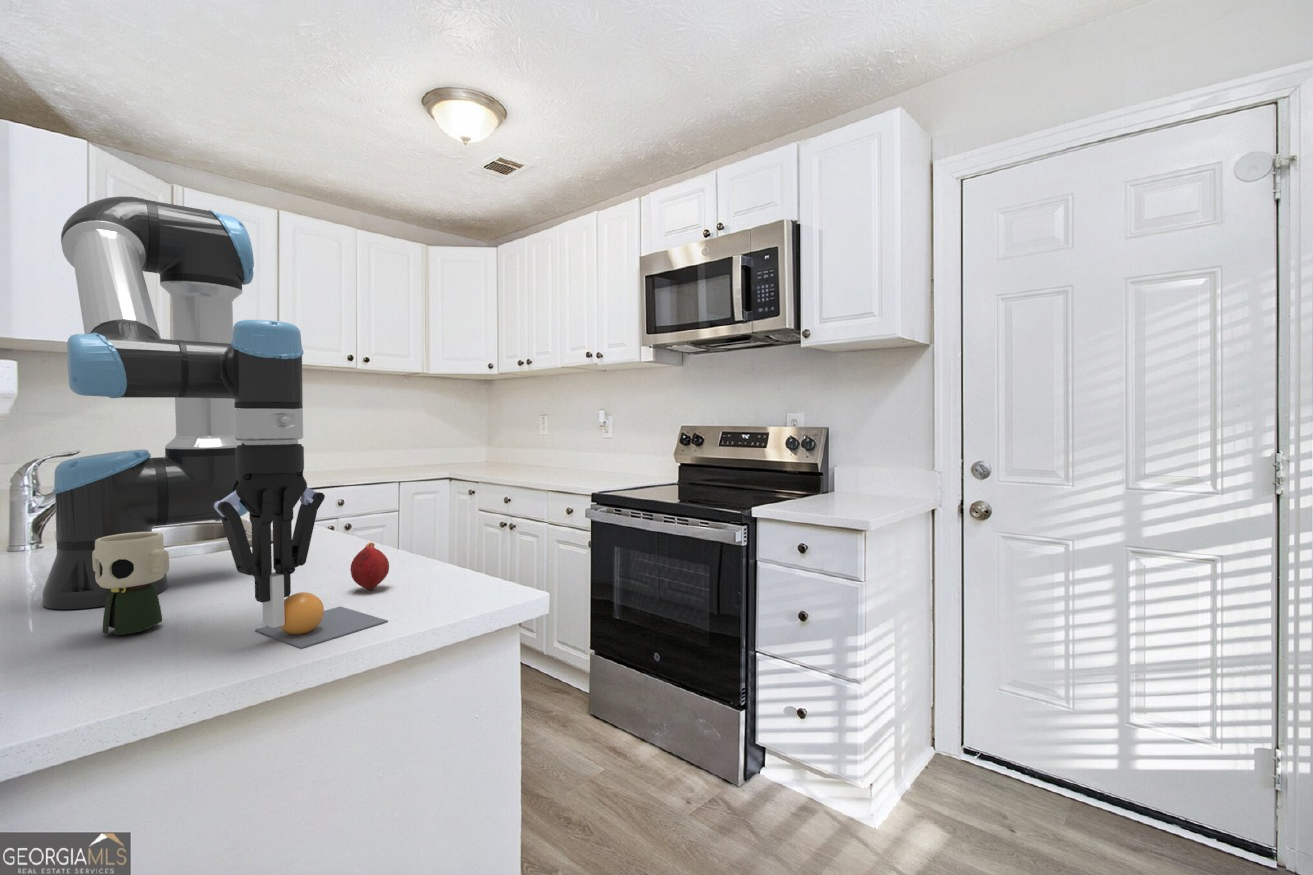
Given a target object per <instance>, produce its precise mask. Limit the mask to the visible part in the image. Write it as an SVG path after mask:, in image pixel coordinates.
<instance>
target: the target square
mask: <svg viewBox="0 0 1313 875" xmlns="http://www.w3.org/2000/svg"><path fill="white" fill-rule="evenodd" d="M388 622H389V620H387V619H385V618H381V617H377V616H374V615H370V614H367V613H364V612H361V611H358V610H354V609H351V608H347V607H344V606H341V605H340V606H337V607H334V608H329V609H326V610H325V609H324V615H323V618H322V620H321V622H320V624H319V625H318V626H317V627H316V628H315V629H314V630H312V631H310V632H308V633H305V634H300V635H293V634H289V633H287V632H285V631H284V630H282V628H281V627H280V626H279V627H275V628H272V627H269V626H266V625H264V626H262V627H259V628H255V629H254V631H255V632H257V633H260V634H262V635H264V636H267V637H270V638H272V639H275V640H278V641H279V642H283V643H285V644H288V645H290V646H292V647H296V648H299V649H305V648H308V647H311V646H315V645H318V644H321V643H325V642H327V641H331V640H334V639H338V638H340V637H344V636H348V635H350V634H355V633H356V632H360V631H364V630H366V629H369V628H372V627H375V626H376V627H377V626H379V625H383V624H385V623H388Z"/></svg>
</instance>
